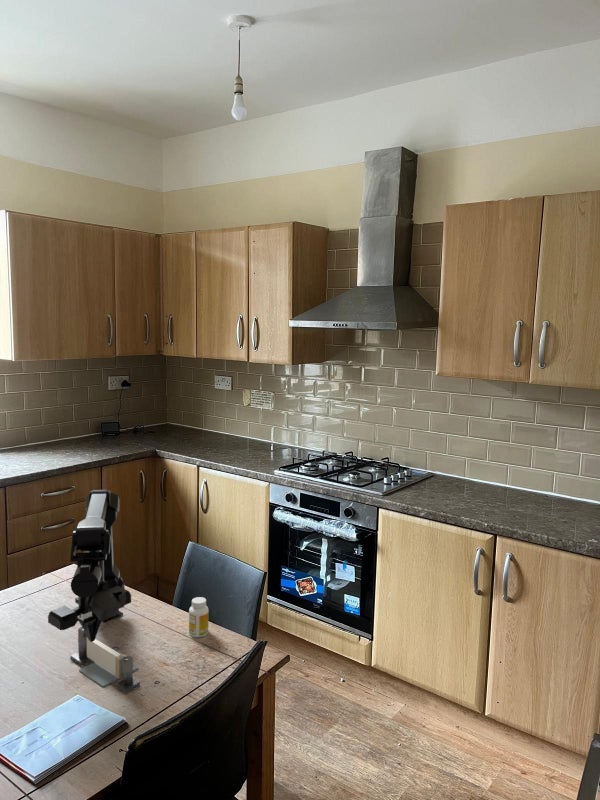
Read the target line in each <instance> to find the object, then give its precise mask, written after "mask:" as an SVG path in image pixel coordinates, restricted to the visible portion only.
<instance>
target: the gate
mask: <svg viewBox="0 0 600 800" xmlns="http://www.w3.org/2000/svg"><path fill="white" fill-rule="evenodd" d="M87 657H88V658H89V659H91V660H93V661H92V662H93V663H95V662H96V663H97V664H99V665H100V666H102V667H104V668H105V669H107V670H108V671H110V672H111V673H113V674H114V675H116V677H117V678H119V679H118V680H121V679H122V659H123V658H124V657H126V655H125V654H123V653H119V652H117V651H116V650H114V649H113V648H111V647H109V646H108V645H106V644H104V643H102V642H101V641H99V640H98V639H96V638H95V641H93V642H90V641H89V640H88V638H87Z"/></svg>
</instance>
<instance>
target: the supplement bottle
mask: <svg viewBox="0 0 600 800" xmlns="http://www.w3.org/2000/svg"><path fill="white" fill-rule="evenodd" d="M209 614H210V613H209V607H208V606H207V599H206V598H205V597H203V596H201V597H200V596H199V597H198V596H196V597H194V598H192V600H191V606H190V607H189V610H188V633H189V636H191V637H192V638H202V637H205V636H206V635H208V633H209Z"/></svg>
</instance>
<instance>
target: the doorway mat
mask: <svg viewBox="0 0 600 800" xmlns="http://www.w3.org/2000/svg"><path fill="white" fill-rule="evenodd" d="M137 670H139V667H138V666H136V665H134V664H133V673H134V672H136V671H137ZM79 673H81V674H83V675H84V676H86V677H87V678H89V679H90V680H92V681H93V682H95V683H96V684H97V685H99V686H100V687H101V688H105V687H107V686H109V685H111V684H112V683H114V682H117V681H119V680H120V679H119V678H117V677H116V675H114V674H113V673H111V672H110V671H108V670H107V669H105V668H104V667H102V666H100V665H99V664H97V663H96V662H93V663H89V665H88V664H87V665H86V666H85V667H82V668H80V669H79Z"/></svg>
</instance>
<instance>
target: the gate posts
mask: <svg viewBox="0 0 600 800" xmlns="http://www.w3.org/2000/svg"><path fill="white" fill-rule="evenodd" d="M77 634H78V635H77V641H78V643H77V645H78V646H77V649H78V650H77V652H75V653H72V654H71V655H70V656H69V658H70V660H71V661H73V662H74V663H76V664H77V665H79V666H80V667H83V666H85V665H88V664H91V662H94V661H93V660H91V659H89V658H88V657H87V636H86V634H85V632H84V630H83V628H82V626H81V627H79V628H78V629H77ZM133 665H134V657H133V656H131V655H128V656H126V655H125V657H124V658H123V659H122V678H121V679H119V680H117V681H115V688H117V690H120V691H121V692H123V693H124V694H128V693H130V692H131V691H134V690H135V689H137V688H139V687H141V682H140V681H139V680H138V679H136V678H135V677H134V672H133Z"/></svg>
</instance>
